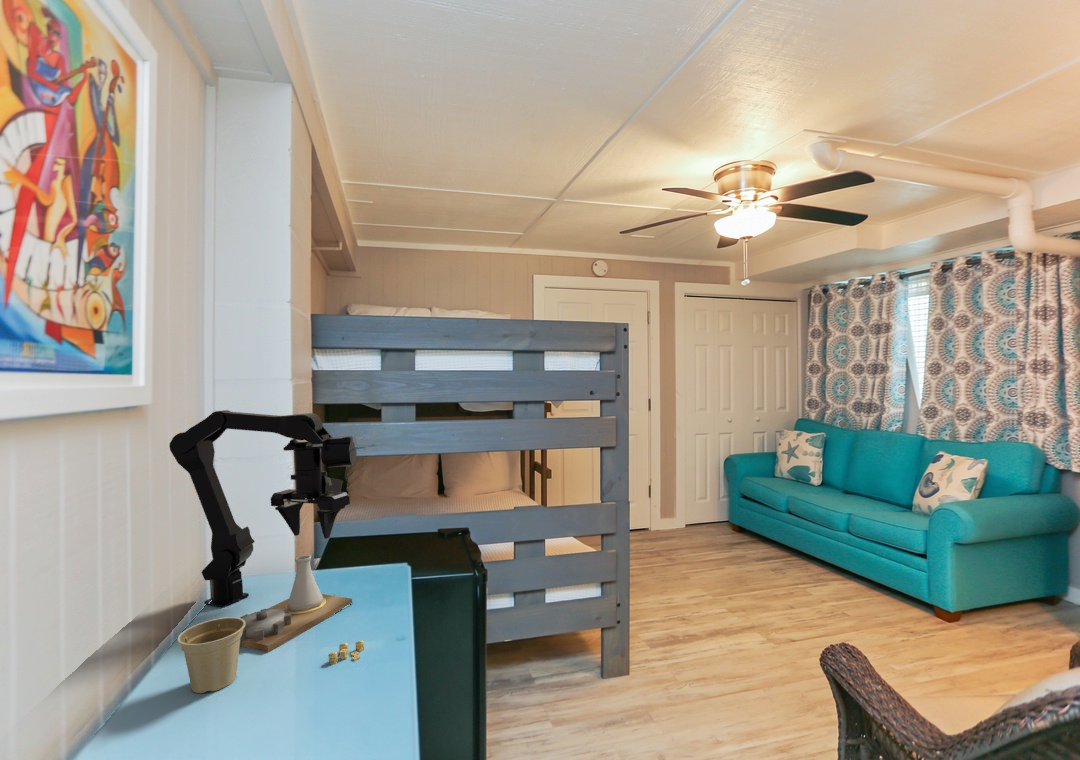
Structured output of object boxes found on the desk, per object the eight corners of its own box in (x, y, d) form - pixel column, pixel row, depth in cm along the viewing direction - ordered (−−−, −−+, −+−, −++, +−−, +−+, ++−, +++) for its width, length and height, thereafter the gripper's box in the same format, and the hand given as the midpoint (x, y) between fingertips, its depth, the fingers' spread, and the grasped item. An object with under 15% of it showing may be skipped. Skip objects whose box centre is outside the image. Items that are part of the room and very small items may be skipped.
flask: (287, 615, 107) (285, 565, 107) (285, 602, 113) (283, 556, 113) (325, 606, 111) (323, 558, 110) (321, 594, 117) (319, 549, 117)
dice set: (327, 668, 90) (327, 656, 90) (338, 652, 95) (337, 641, 95) (357, 666, 90) (357, 655, 90) (366, 650, 96) (366, 640, 96)
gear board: (212, 641, 100) (211, 619, 100) (304, 596, 120) (303, 577, 120) (265, 653, 95) (264, 630, 95) (352, 604, 115) (351, 584, 115)
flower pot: (260, 667, 90) (257, 616, 90) (222, 701, 81) (219, 644, 81) (208, 666, 91) (206, 616, 91) (165, 700, 82) (162, 644, 82)
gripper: (365, 463, 125) (368, 529, 125) (306, 462, 133) (309, 524, 133) (329, 472, 115) (332, 544, 115) (267, 470, 122) (270, 537, 122)
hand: (311, 536), depth 122 cm, fingers open, 9 cm apart
